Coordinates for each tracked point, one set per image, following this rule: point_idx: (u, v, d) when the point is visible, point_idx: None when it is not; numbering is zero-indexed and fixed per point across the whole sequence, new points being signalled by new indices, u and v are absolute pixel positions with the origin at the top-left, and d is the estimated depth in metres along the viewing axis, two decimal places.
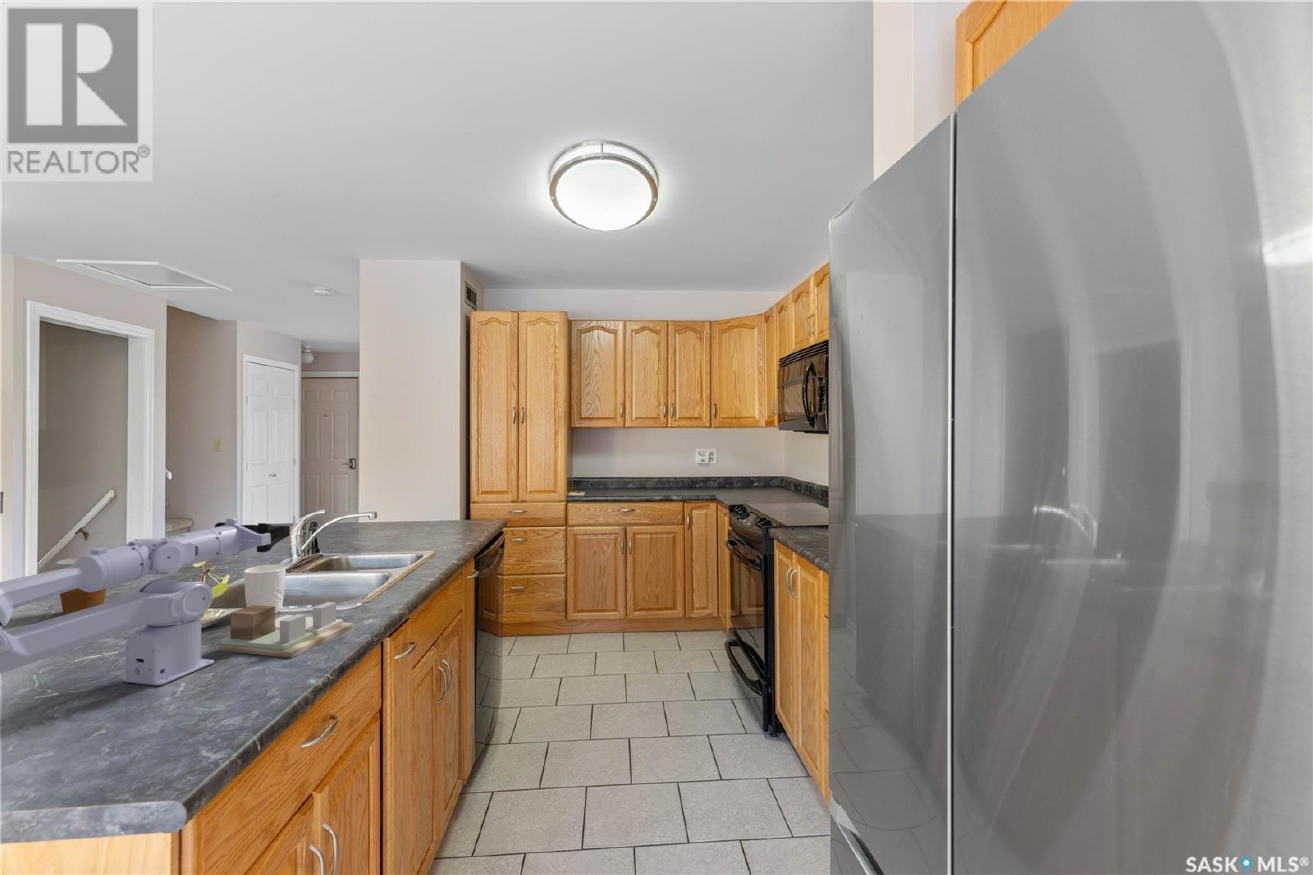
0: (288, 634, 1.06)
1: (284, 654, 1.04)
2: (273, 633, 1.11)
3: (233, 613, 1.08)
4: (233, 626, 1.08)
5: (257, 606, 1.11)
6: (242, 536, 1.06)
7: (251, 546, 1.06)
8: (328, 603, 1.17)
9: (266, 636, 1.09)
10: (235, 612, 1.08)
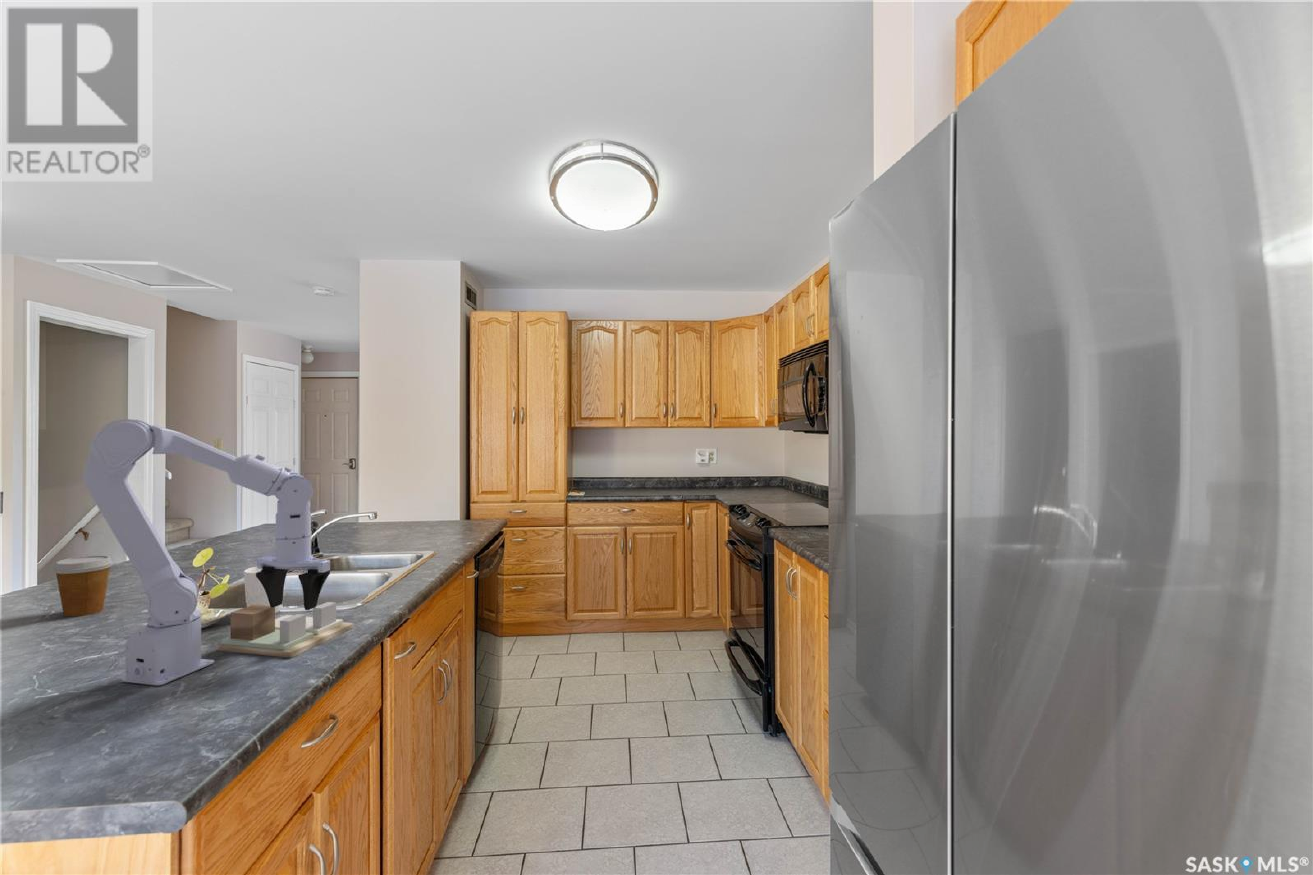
0: (288, 634, 1.06)
1: (284, 654, 1.04)
2: (273, 633, 1.11)
3: (233, 613, 1.08)
4: (233, 626, 1.08)
5: (257, 606, 1.11)
6: (308, 559, 1.08)
7: None
8: (328, 603, 1.17)
9: (266, 636, 1.09)
10: (235, 612, 1.08)
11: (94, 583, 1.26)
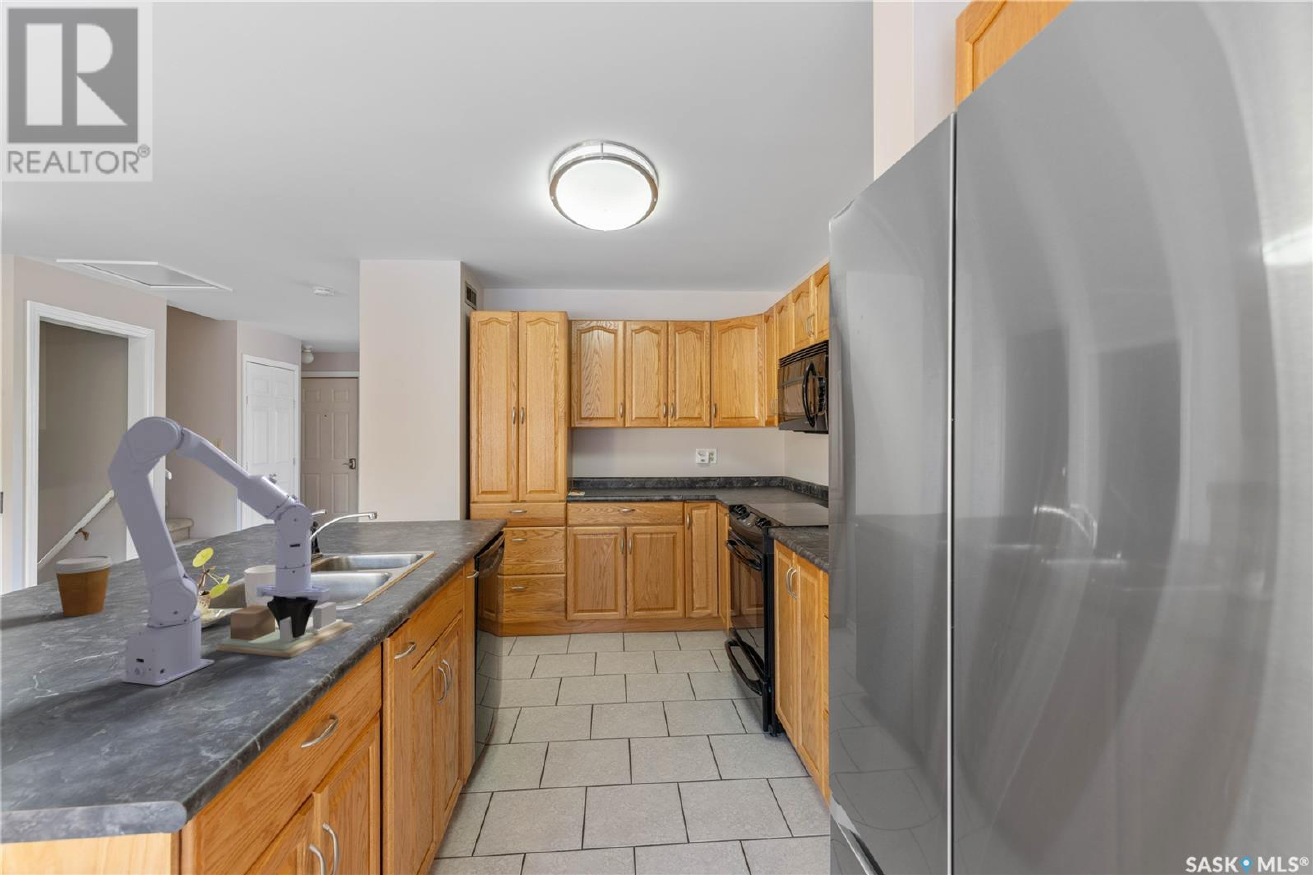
0: (288, 634, 1.06)
1: (284, 654, 1.04)
2: (273, 633, 1.11)
3: (233, 613, 1.08)
4: (233, 626, 1.08)
5: (257, 606, 1.11)
6: (308, 587, 1.08)
7: (309, 591, 1.06)
8: (328, 603, 1.17)
9: (266, 636, 1.09)
10: (235, 612, 1.08)
11: (94, 583, 1.26)
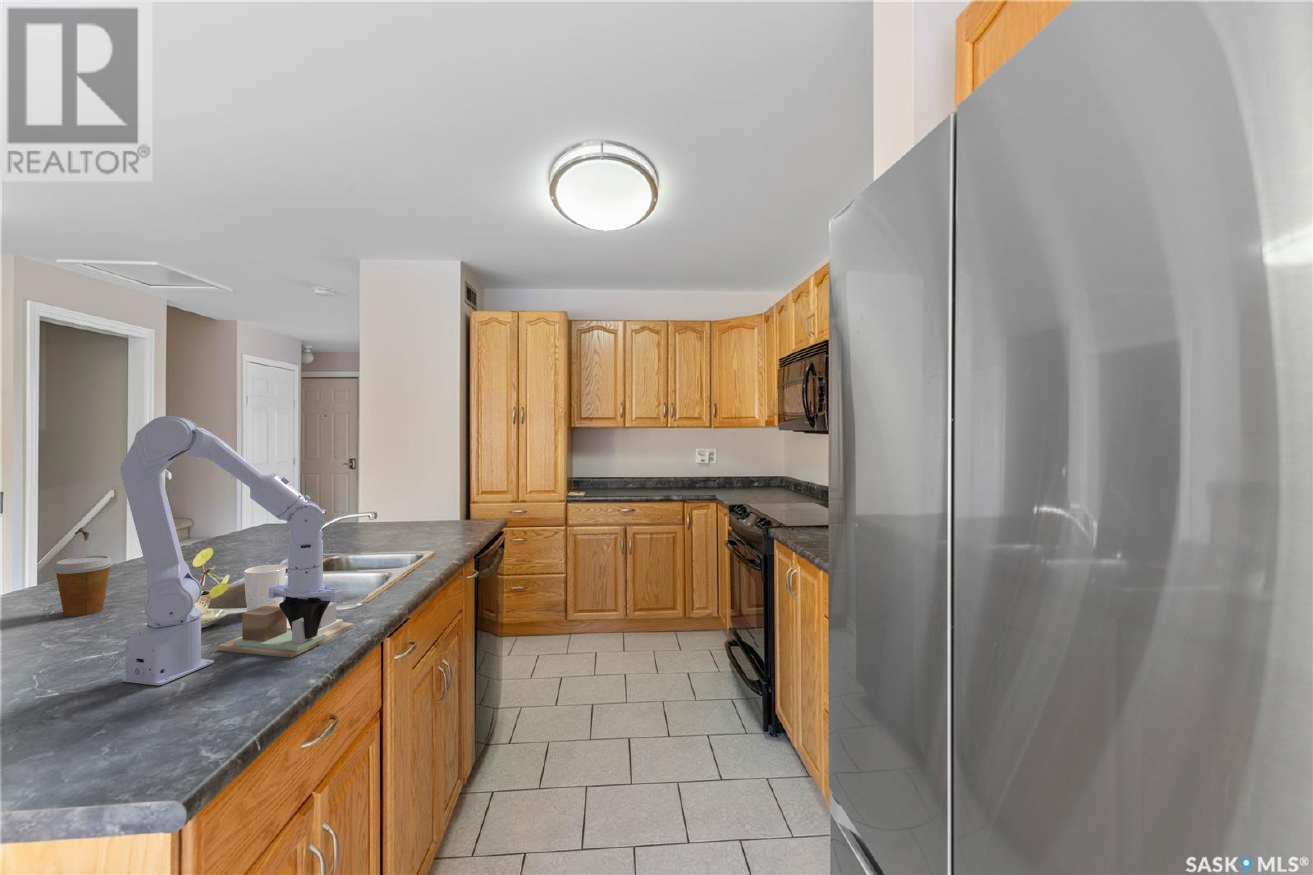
0: (300, 635, 1.05)
1: (284, 654, 1.04)
2: (285, 634, 1.10)
3: (245, 614, 1.07)
4: (245, 627, 1.07)
5: (269, 607, 1.11)
6: (321, 588, 1.08)
7: None
8: None
9: (278, 637, 1.08)
10: (247, 613, 1.07)
11: (94, 583, 1.26)
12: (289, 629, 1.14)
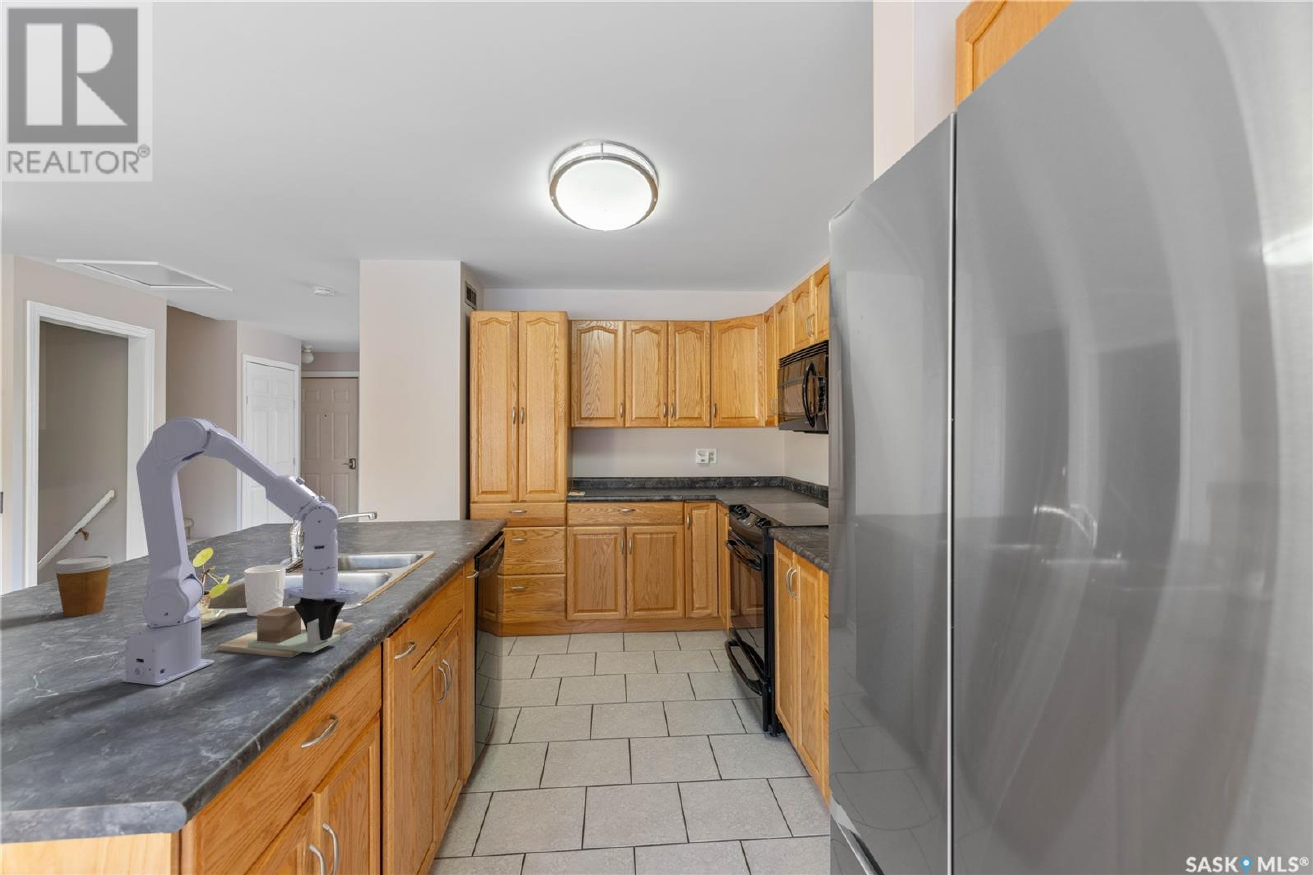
0: (316, 637, 1.05)
1: (284, 654, 1.04)
2: (299, 635, 1.09)
3: (260, 615, 1.06)
4: (260, 628, 1.06)
5: (283, 608, 1.10)
6: (336, 589, 1.07)
7: (337, 593, 1.05)
8: None
9: (293, 638, 1.08)
10: (262, 614, 1.07)
11: (94, 583, 1.26)
12: None
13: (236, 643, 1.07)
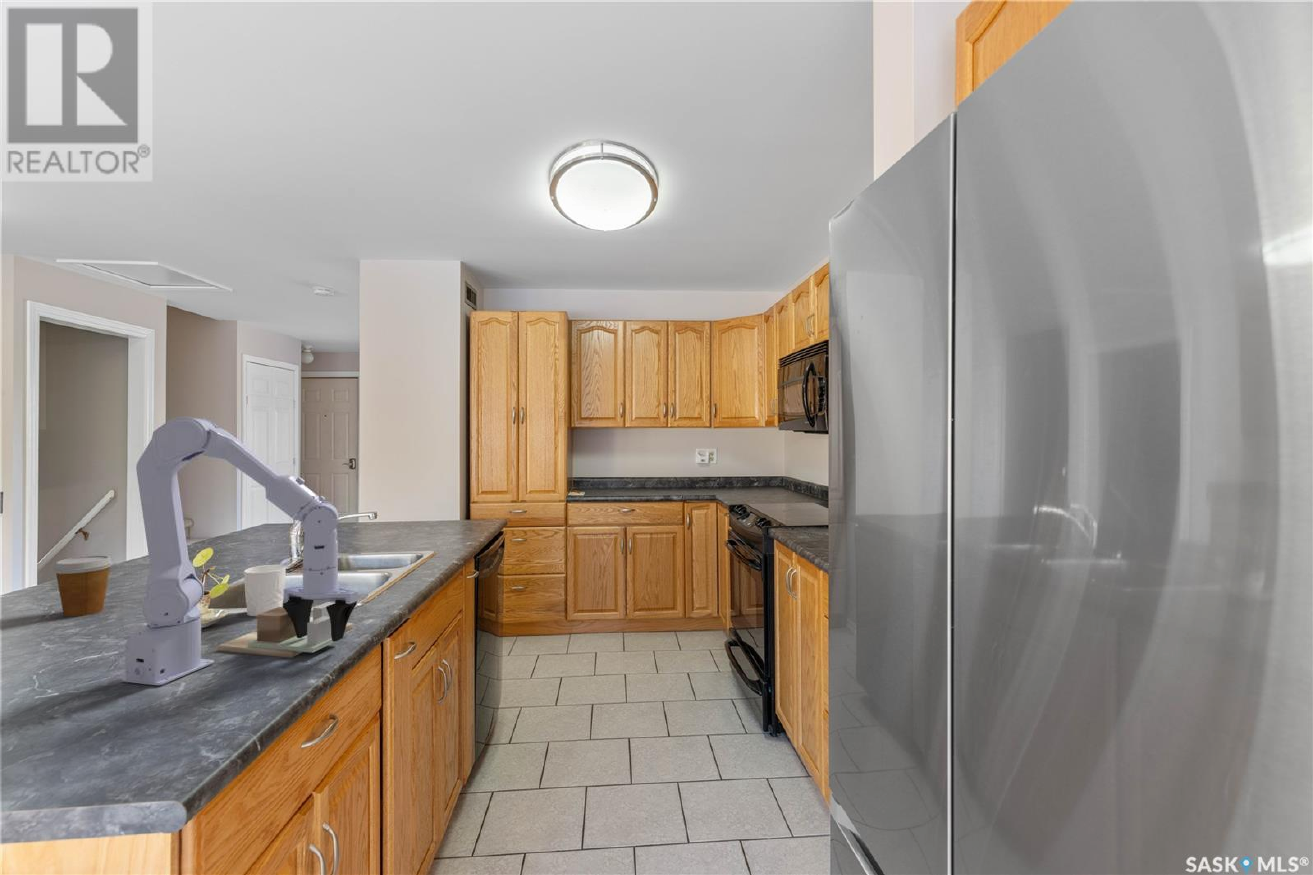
0: (316, 637, 1.05)
1: (284, 654, 1.04)
2: None
3: (260, 615, 1.06)
4: (260, 628, 1.06)
5: (283, 608, 1.10)
6: (336, 589, 1.07)
7: (337, 593, 1.05)
8: (328, 603, 1.17)
9: (293, 638, 1.08)
10: (262, 614, 1.07)
11: (94, 583, 1.26)
12: None
13: (236, 643, 1.07)
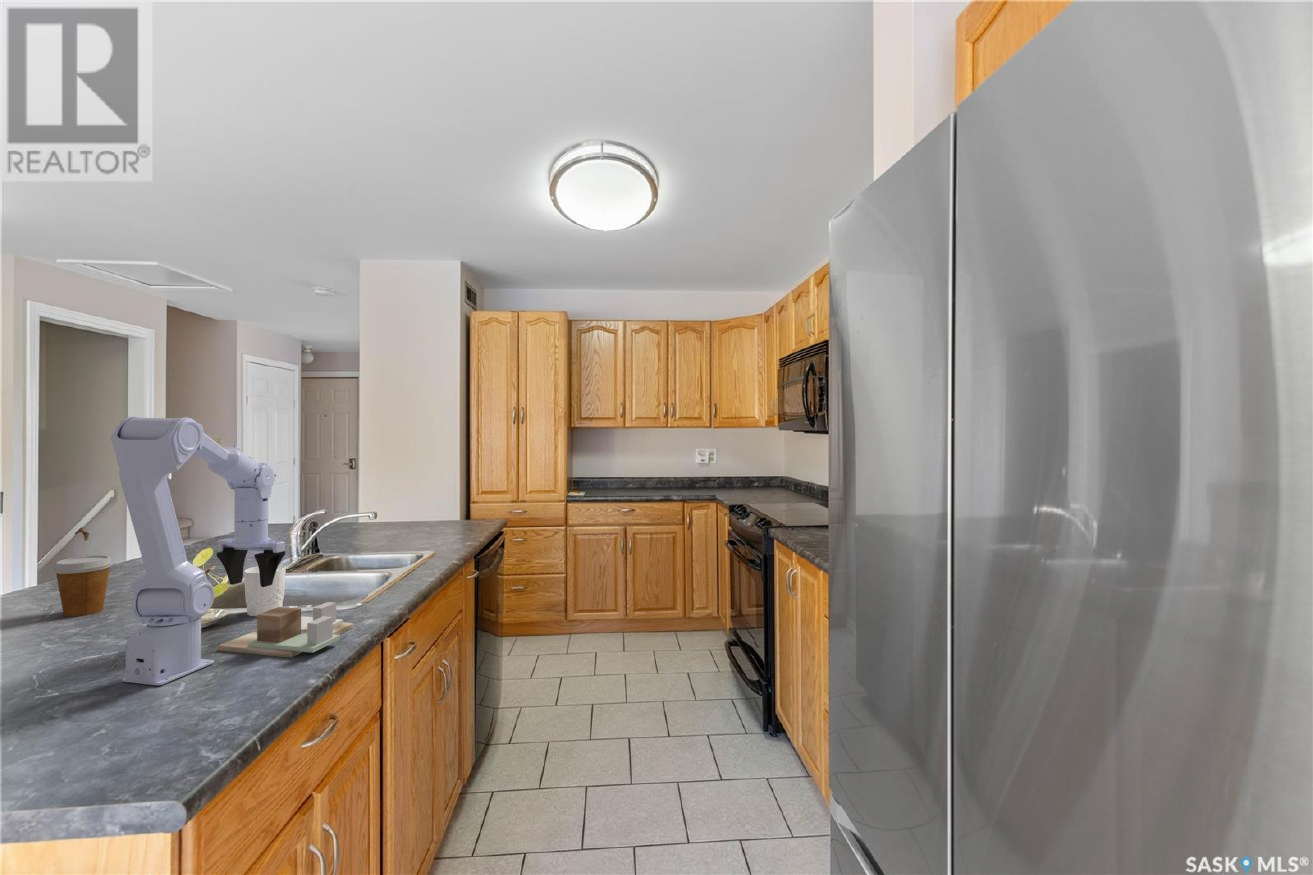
0: (316, 637, 1.05)
1: (284, 654, 1.04)
2: (299, 635, 1.09)
3: (260, 615, 1.06)
4: (260, 628, 1.06)
5: (283, 608, 1.10)
6: (265, 540, 1.18)
7: None
8: (328, 603, 1.17)
9: (293, 638, 1.08)
10: (262, 614, 1.07)
11: (94, 583, 1.26)
12: None
13: (236, 643, 1.07)
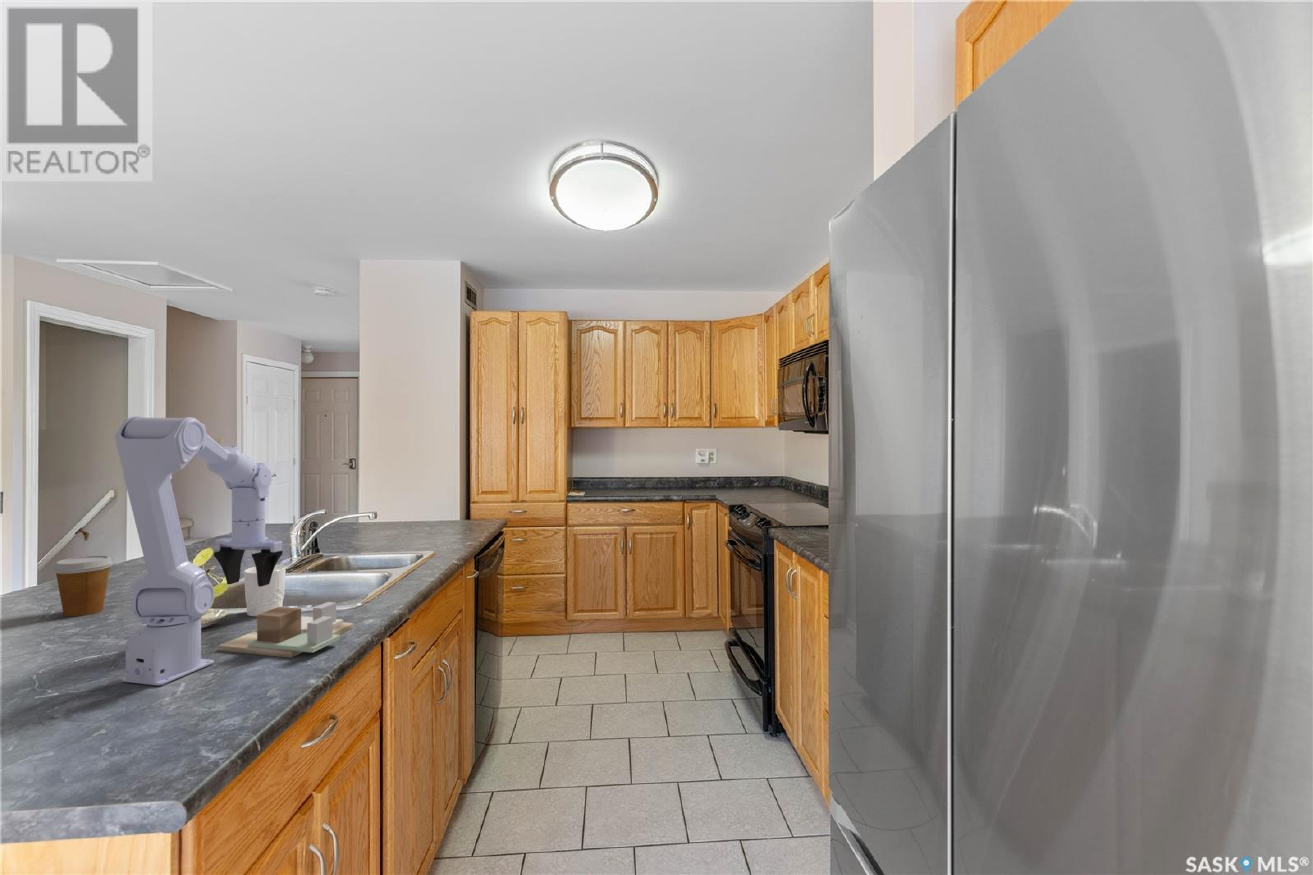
0: (316, 637, 1.05)
1: (284, 654, 1.04)
2: (299, 635, 1.09)
3: (260, 615, 1.06)
4: (260, 628, 1.06)
5: (283, 608, 1.10)
6: (262, 540, 1.18)
7: (262, 543, 1.16)
8: (328, 603, 1.17)
9: (293, 638, 1.08)
10: (262, 614, 1.07)
11: (94, 583, 1.26)
12: None
13: (236, 643, 1.07)
